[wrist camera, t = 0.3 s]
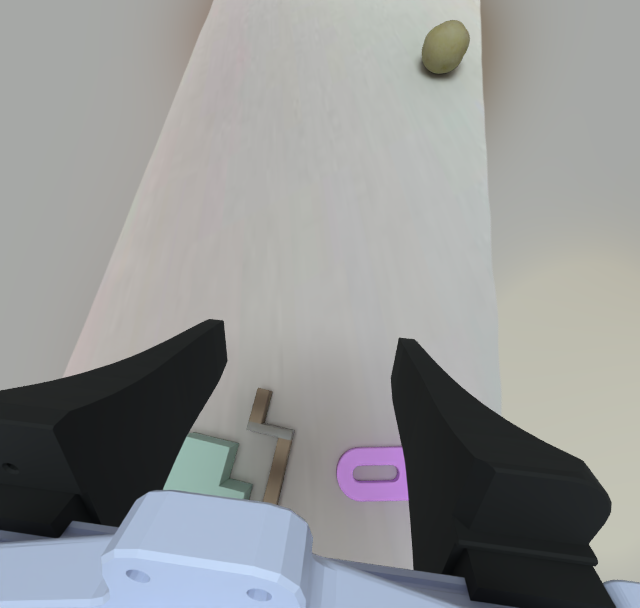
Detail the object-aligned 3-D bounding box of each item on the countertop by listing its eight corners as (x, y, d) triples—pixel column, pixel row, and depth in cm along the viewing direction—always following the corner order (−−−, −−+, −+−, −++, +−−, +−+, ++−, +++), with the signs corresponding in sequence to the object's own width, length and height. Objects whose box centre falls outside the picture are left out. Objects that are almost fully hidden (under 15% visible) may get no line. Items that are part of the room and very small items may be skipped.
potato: (455, 87, 59) (475, 40, 52) (414, 80, 60) (427, 33, 52) (459, 60, 61) (479, 11, 54) (420, 54, 62) (433, 5, 55)
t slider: (240, 531, 36) (231, 545, 33) (145, 505, 37) (124, 516, 34) (261, 449, 39) (254, 453, 35) (172, 426, 40) (155, 429, 36)
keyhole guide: (276, 510, 37) (273, 517, 35) (127, 471, 38) (114, 475, 36) (301, 398, 41) (300, 397, 39) (166, 367, 43) (157, 364, 40)
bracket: (439, 445, 39) (462, 452, 33) (446, 496, 37) (472, 514, 31) (335, 447, 39) (338, 455, 33) (337, 498, 37) (340, 517, 31)
